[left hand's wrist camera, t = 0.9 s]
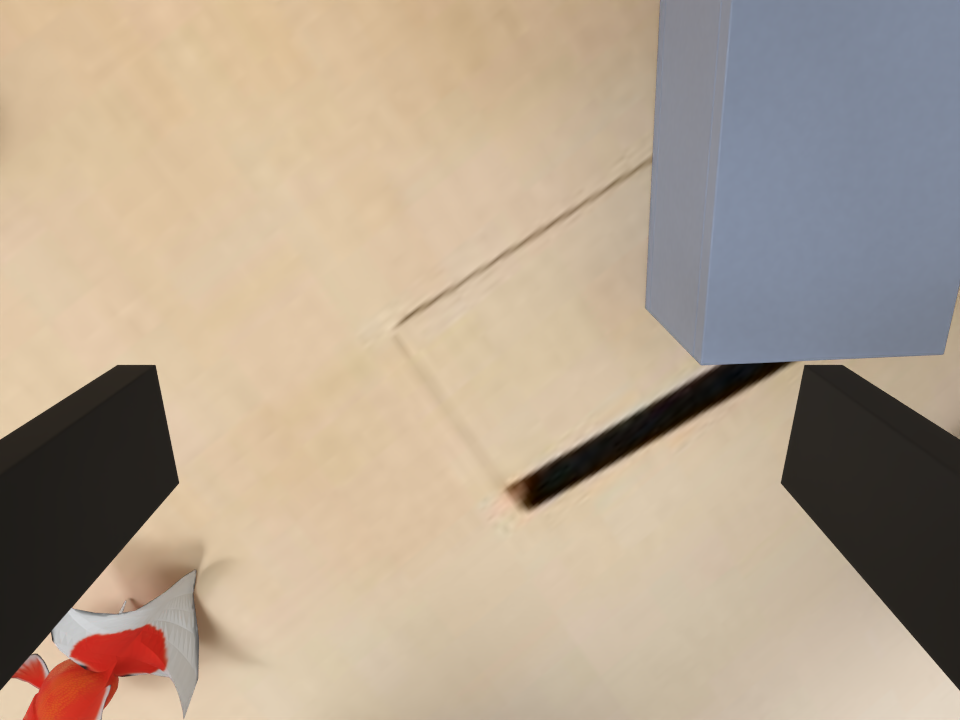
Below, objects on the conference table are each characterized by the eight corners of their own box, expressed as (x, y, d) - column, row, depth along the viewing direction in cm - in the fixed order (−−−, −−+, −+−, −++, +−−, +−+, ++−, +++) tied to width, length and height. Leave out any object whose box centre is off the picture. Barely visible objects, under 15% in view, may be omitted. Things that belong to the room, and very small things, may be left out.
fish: (-70, 644, 39) (-102, 786, 32) (150, 494, 43) (168, 590, 36) (55, 706, 46) (53, 836, 38) (237, 571, 50) (268, 665, 42)
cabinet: (663, -79, 30) (746, -175, 21) (887, -91, 30) (1071, -194, 20) (645, 308, 37) (700, 365, 27) (826, 300, 36) (944, 355, 27)
